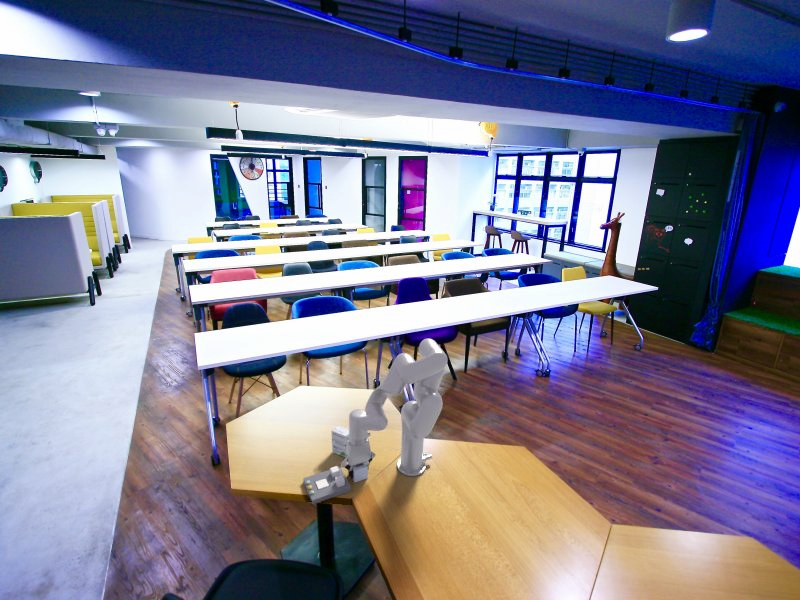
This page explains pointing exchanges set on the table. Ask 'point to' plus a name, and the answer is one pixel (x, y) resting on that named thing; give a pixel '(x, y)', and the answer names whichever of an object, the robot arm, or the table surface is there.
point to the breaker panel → (334, 479)
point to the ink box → (339, 440)
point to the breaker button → (321, 484)
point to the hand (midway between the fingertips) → (358, 473)
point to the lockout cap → (360, 472)
